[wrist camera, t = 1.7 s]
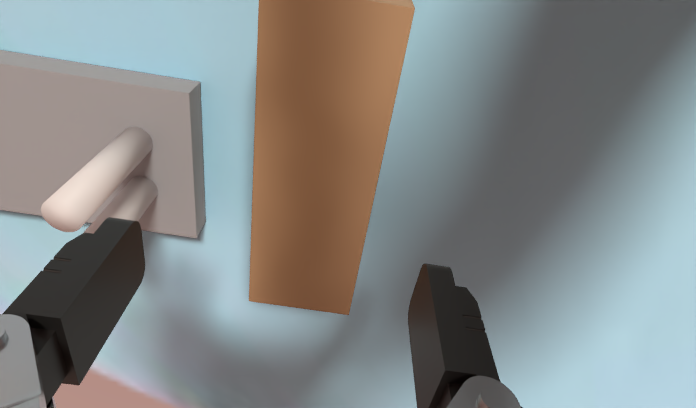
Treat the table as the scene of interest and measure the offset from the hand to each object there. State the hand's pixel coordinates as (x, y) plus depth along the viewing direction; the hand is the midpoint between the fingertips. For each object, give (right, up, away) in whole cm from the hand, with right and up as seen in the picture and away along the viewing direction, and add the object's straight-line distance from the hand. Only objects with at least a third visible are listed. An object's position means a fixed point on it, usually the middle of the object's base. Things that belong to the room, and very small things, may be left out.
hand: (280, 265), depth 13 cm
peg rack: (-13, +5, +10) cm, 17 cm away
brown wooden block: (+1, +6, +9) cm, 10 cm away
